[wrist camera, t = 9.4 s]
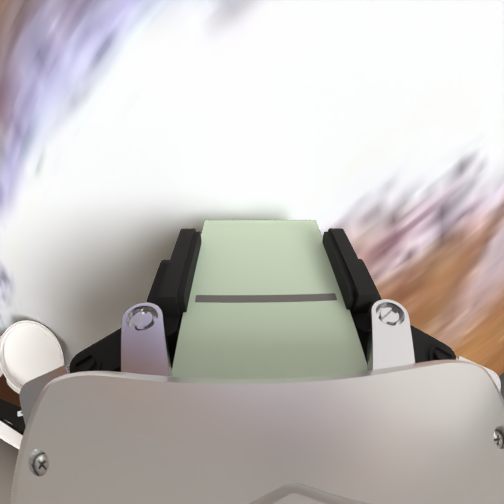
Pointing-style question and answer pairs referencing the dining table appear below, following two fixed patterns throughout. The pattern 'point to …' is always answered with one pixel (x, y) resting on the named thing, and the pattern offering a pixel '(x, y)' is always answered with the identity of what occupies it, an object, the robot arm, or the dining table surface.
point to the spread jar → (23, 370)
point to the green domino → (265, 306)
